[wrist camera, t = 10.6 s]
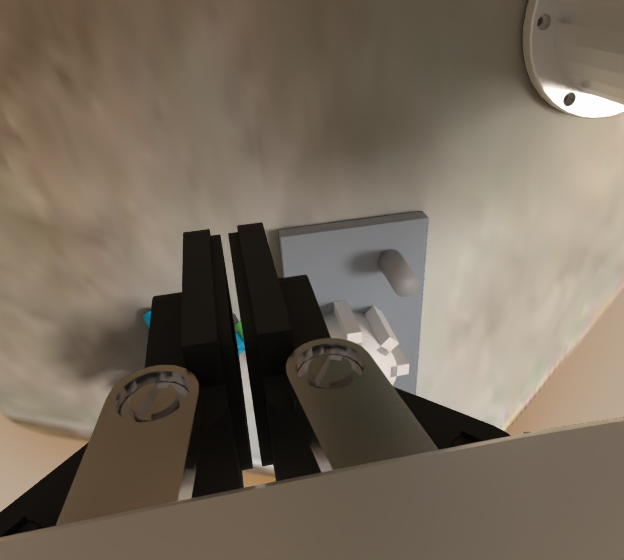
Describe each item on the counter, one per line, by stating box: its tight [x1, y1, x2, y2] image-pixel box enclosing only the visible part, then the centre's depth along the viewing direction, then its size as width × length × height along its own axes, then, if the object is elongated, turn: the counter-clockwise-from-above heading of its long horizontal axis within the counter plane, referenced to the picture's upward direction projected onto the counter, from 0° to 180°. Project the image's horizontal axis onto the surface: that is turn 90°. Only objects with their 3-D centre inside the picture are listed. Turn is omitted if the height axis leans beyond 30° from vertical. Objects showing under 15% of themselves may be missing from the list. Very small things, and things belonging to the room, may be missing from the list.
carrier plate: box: [278, 211, 428, 395], centre depth 41 cm, size 11×20×5 cm, turn 3°
